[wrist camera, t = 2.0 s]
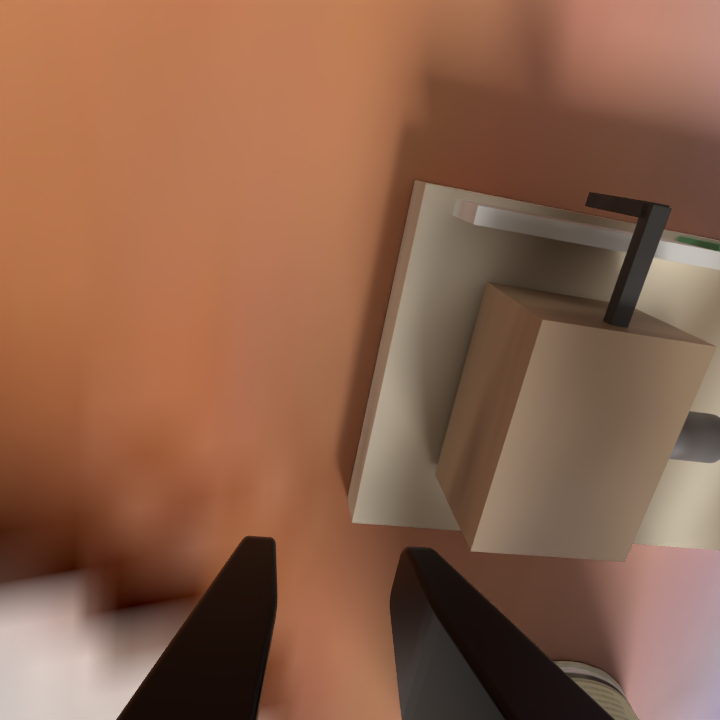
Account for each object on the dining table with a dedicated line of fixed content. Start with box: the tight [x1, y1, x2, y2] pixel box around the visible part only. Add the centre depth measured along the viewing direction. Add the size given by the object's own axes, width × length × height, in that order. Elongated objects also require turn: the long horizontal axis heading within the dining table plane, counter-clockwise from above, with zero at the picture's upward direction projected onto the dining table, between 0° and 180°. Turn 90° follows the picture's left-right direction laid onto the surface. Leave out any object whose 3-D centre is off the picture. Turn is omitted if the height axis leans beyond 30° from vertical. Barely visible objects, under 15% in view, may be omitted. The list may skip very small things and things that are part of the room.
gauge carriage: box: [435, 192, 720, 562], centre depth 17 cm, size 8×10×4 cm
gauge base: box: [347, 180, 720, 550], centre depth 20 cm, size 22×12×5 cm, turn 79°
